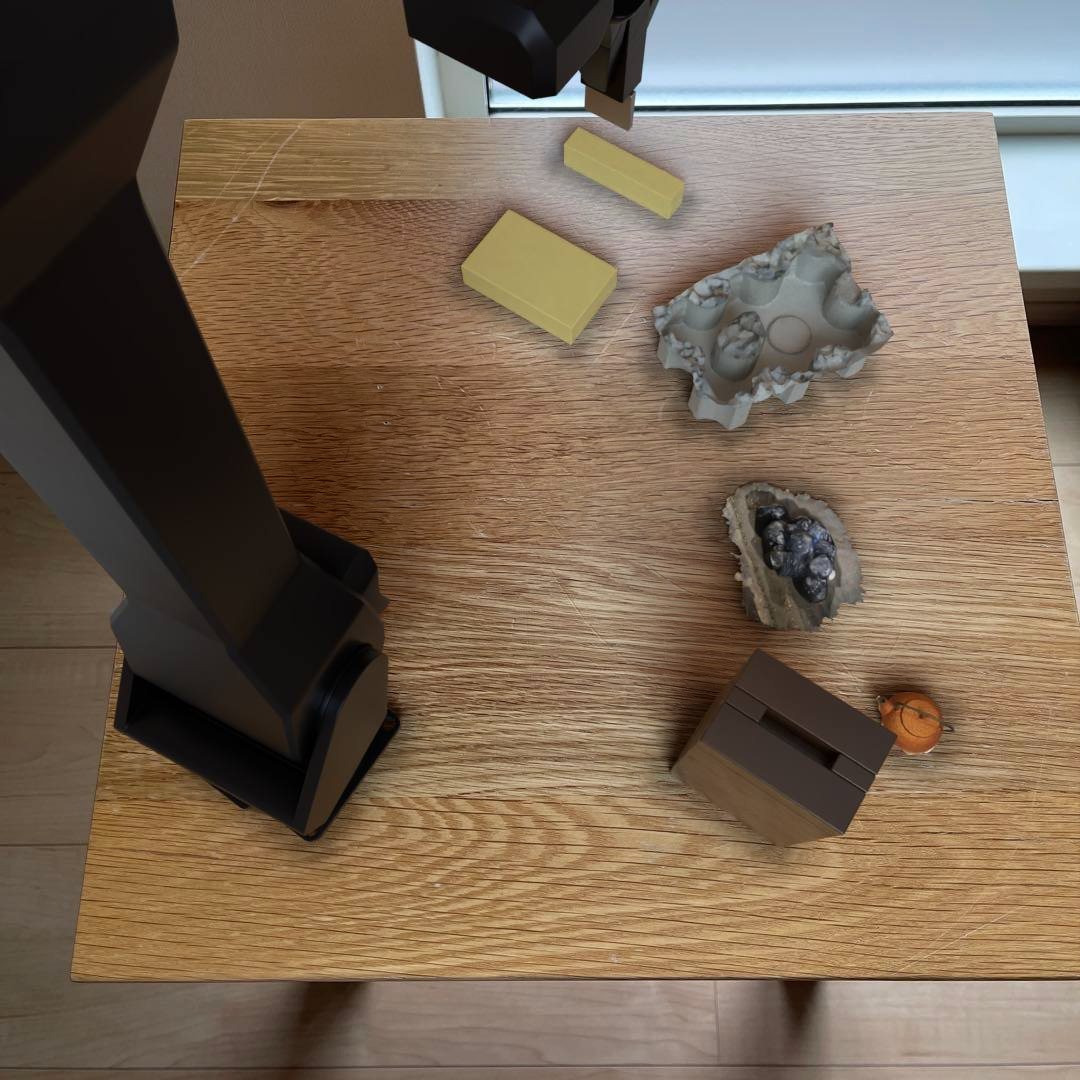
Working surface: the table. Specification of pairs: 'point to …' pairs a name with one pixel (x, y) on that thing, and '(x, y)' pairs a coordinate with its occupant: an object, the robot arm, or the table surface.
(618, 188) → the butter pat
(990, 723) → the table surface
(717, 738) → the brown slotted box
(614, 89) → the dark brown angled piece
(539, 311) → the butter block
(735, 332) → the egg carton
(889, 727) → the teapot
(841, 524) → the blue crystal geode
